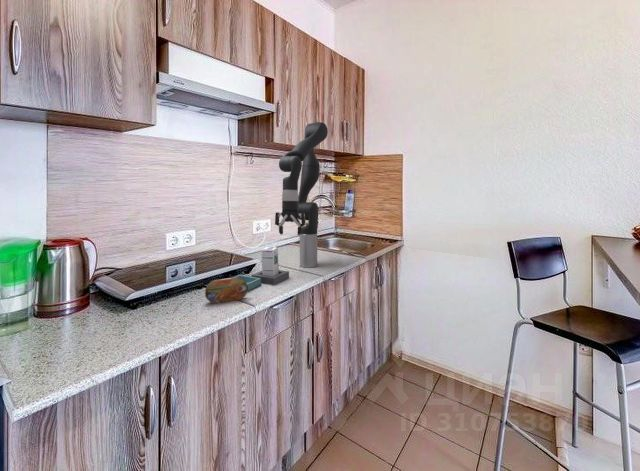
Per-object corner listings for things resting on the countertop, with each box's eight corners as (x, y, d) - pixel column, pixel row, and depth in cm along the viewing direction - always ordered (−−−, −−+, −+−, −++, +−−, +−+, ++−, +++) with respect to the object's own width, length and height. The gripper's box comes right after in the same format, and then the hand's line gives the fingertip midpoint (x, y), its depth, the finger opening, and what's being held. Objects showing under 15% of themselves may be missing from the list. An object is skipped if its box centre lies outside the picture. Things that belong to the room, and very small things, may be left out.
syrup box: (274, 282, 136) (273, 249, 134) (262, 281, 138) (261, 249, 135) (279, 278, 142) (278, 247, 140) (266, 277, 143) (265, 246, 141)
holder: (267, 274, 148) (267, 268, 147) (289, 277, 143) (288, 271, 142) (251, 281, 137) (251, 274, 137) (274, 285, 132) (274, 278, 131)
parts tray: (239, 281, 137) (239, 274, 137) (261, 285, 132) (260, 278, 132) (220, 289, 127) (220, 282, 126) (243, 293, 122) (243, 286, 121)
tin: (206, 305, 111) (204, 282, 109) (205, 302, 113) (204, 279, 112) (248, 299, 116) (247, 277, 115) (246, 296, 119) (246, 275, 118)
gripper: (307, 200, 147) (306, 234, 149) (278, 199, 150) (278, 233, 151) (303, 200, 139) (302, 236, 141) (272, 199, 142) (273, 235, 144)
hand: (290, 234), depth 146 cm, fingers open, 8 cm apart
